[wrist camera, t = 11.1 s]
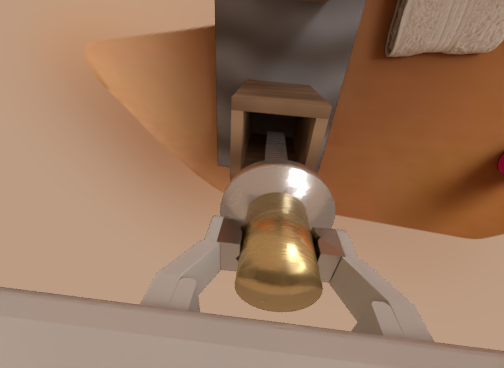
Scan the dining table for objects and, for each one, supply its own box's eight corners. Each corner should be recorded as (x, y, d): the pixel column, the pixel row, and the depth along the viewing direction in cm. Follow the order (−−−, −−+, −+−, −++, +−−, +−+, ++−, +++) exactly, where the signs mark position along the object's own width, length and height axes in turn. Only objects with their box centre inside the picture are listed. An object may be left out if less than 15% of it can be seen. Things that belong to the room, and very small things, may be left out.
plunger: (246, 105, 19) (190, 220, 6) (312, 111, 19) (396, 243, 6) (242, 163, 22) (202, 318, 9) (299, 169, 22) (335, 335, 9)
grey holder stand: (214, -219, 17) (93, -782, 5) (418, -209, 16) (755, -806, 5) (219, 161, 35) (194, 214, 24) (315, 171, 35) (335, 230, 23)
